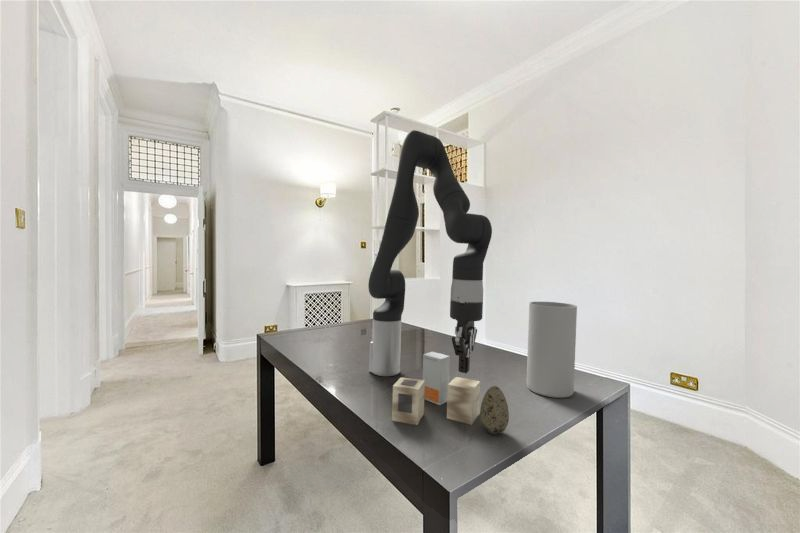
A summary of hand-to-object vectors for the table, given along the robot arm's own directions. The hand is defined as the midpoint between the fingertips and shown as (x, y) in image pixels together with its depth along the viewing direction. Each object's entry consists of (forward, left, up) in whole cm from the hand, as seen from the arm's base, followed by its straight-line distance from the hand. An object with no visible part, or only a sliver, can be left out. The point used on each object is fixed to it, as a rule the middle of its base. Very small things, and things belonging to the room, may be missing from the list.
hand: (463, 371), depth 78 cm
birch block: (0, 0, -11) cm, 11 cm away
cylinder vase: (+17, +29, -11) cm, 35 cm away
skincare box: (-9, +5, -11) cm, 15 cm away
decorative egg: (+8, -4, -11) cm, 14 cm away
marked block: (-11, -7, -11) cm, 17 cm away
